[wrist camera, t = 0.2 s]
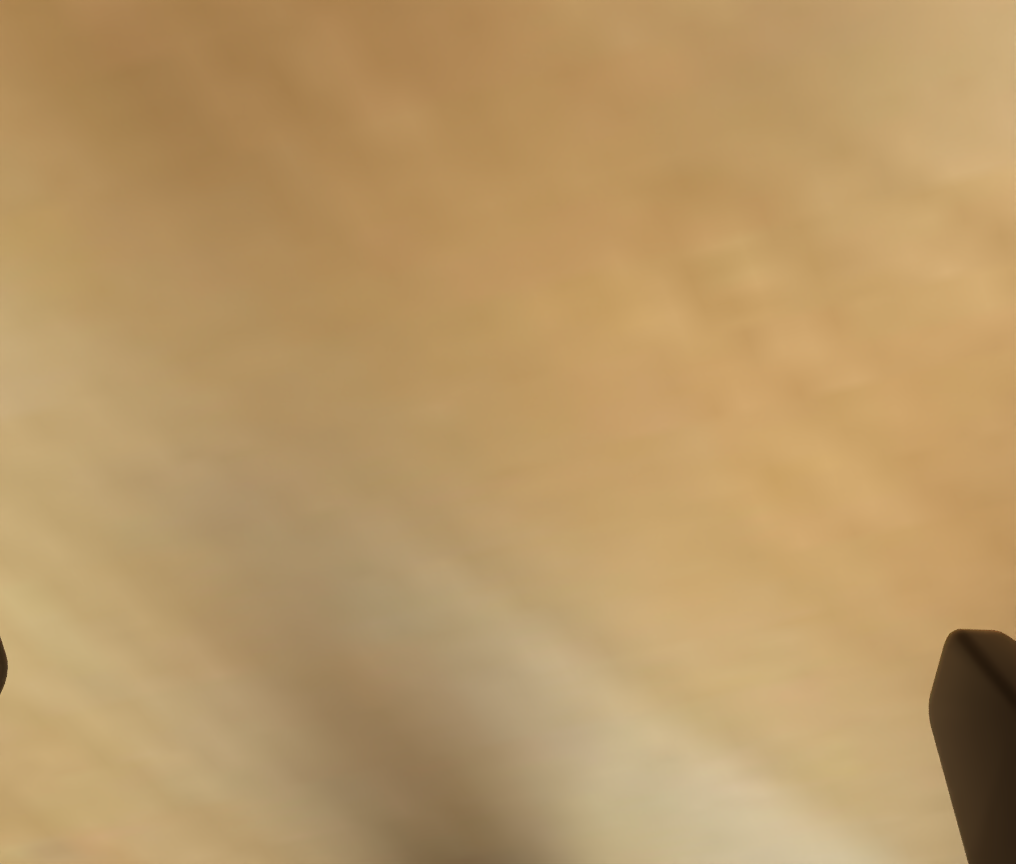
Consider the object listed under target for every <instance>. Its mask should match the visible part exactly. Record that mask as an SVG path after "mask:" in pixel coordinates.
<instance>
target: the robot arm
mask: <svg viewBox="0 0 1016 864" xmlns="http://www.w3.org/2000/svg"><path fill="white" fill-rule="evenodd" d="M7 670H8V665H7V657H6V653H5V650H4V647H3V644H2V641H1V638H0V694H1V691H2V689H3V687H4V684H5V681H6V677H7ZM929 718H930V724H931V728H932V732H933V735H934V739H935V743H936V746H937V750H938V754H939V757H940V761H941V765H942V769H943V772H944V776H945V780H946V783H947V787H948V791H949V794H950V798H951V802H952V805H953V809H954V813H955V816H956V820H957V824H958V827H959V831H960V835H961V838H962V842H963V846H964V849H965V853H966V857H967V860H968V863H969V864H1016V641H1015V640H1013V639H1012V638H1010V637H1009V636H1007V635H1006V634H1004V633H1002V632H999V631H995V630H972V629H957V630H955V631H953V632H951V633H950V634H949V636H948V637H947V639H946V641H945V644H944V647H943V651H942V654H941V658H940V661H939V665H938V669H937V672H936V676H935V679H934V683H933V687H932V690H931V694H930V699H929Z"/></svg>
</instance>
